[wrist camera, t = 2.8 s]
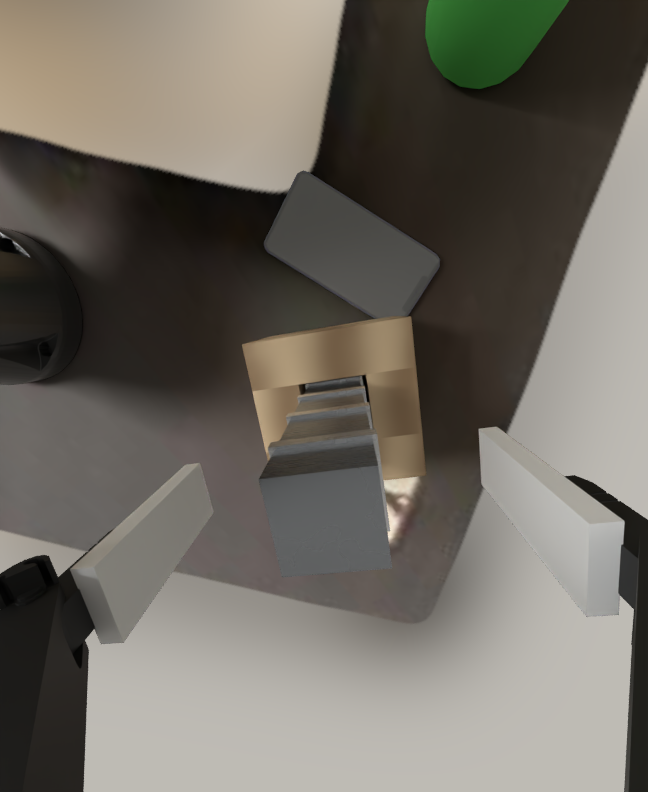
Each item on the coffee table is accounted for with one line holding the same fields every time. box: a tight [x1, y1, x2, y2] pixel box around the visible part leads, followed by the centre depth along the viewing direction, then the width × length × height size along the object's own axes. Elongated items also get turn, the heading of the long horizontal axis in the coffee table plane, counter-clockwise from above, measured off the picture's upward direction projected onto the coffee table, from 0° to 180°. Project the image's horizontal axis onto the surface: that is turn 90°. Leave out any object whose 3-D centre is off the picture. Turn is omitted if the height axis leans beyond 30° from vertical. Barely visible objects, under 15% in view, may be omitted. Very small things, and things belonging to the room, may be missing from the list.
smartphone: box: [264, 171, 440, 319], centre depth 29 cm, size 8×1×15 cm
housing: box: [242, 316, 426, 480], centre depth 27 cm, size 12×12×11 cm
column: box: [259, 375, 392, 577], centre depth 21 cm, size 4×4×22 cm
